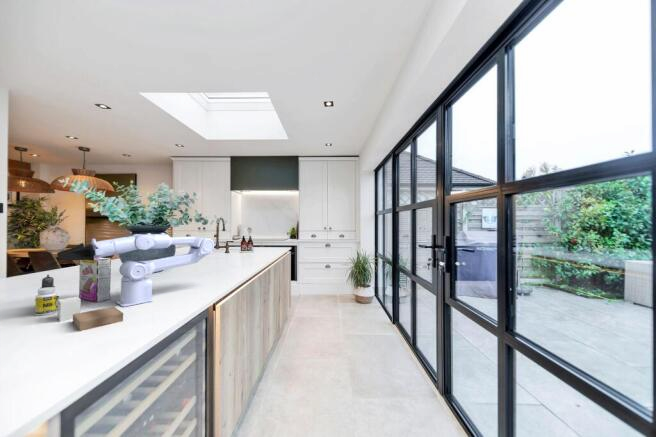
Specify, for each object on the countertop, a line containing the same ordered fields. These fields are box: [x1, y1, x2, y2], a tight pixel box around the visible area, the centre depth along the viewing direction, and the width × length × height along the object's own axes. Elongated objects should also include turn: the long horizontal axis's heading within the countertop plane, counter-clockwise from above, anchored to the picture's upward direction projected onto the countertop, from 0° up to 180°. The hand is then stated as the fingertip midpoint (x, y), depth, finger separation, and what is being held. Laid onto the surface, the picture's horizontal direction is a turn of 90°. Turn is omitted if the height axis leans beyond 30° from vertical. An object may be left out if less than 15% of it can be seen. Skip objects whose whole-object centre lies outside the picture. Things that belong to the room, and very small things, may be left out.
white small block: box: [57, 296, 82, 323], centre depth 85 cm, size 5×5×6 cm
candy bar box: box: [78, 257, 112, 303], centre depth 104 cm, size 11×5×16 cm, turn 71°
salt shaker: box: [34, 274, 60, 309], centre depth 94 cm, size 6×6×12 cm
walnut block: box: [72, 306, 124, 332], centre depth 82 cm, size 10×10×3 cm
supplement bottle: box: [34, 286, 58, 317], centre depth 88 cm, size 5×5×8 cm
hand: (60, 256), depth 85 cm, fingers open, 7 cm apart
